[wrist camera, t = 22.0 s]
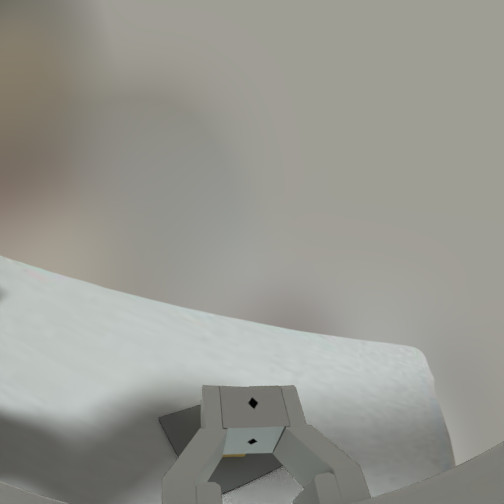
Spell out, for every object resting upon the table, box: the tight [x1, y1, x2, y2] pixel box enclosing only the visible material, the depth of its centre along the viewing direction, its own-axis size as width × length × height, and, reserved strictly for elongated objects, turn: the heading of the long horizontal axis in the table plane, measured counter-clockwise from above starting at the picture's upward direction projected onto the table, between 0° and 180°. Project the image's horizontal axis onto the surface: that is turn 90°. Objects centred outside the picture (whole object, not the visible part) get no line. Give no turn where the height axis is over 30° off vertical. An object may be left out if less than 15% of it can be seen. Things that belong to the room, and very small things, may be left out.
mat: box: [159, 405, 282, 494], centre depth 38 cm, size 15×14×1 cm
